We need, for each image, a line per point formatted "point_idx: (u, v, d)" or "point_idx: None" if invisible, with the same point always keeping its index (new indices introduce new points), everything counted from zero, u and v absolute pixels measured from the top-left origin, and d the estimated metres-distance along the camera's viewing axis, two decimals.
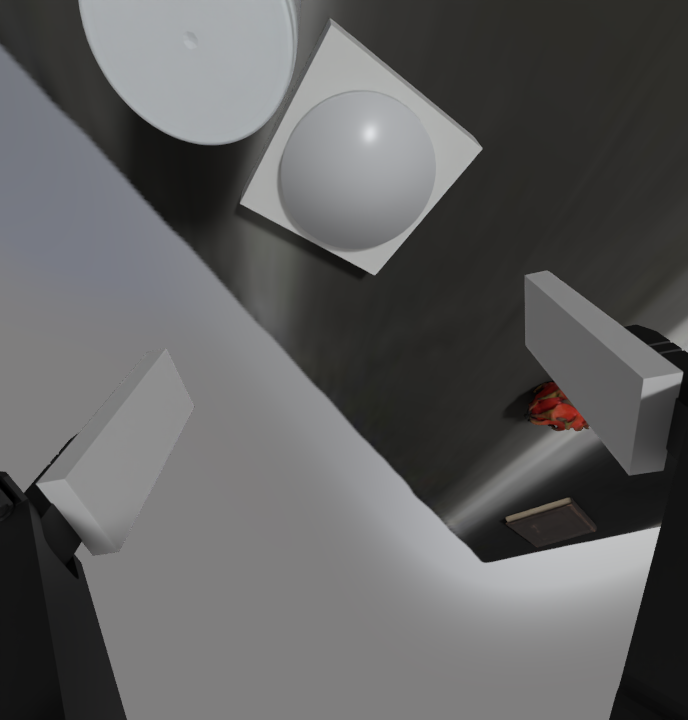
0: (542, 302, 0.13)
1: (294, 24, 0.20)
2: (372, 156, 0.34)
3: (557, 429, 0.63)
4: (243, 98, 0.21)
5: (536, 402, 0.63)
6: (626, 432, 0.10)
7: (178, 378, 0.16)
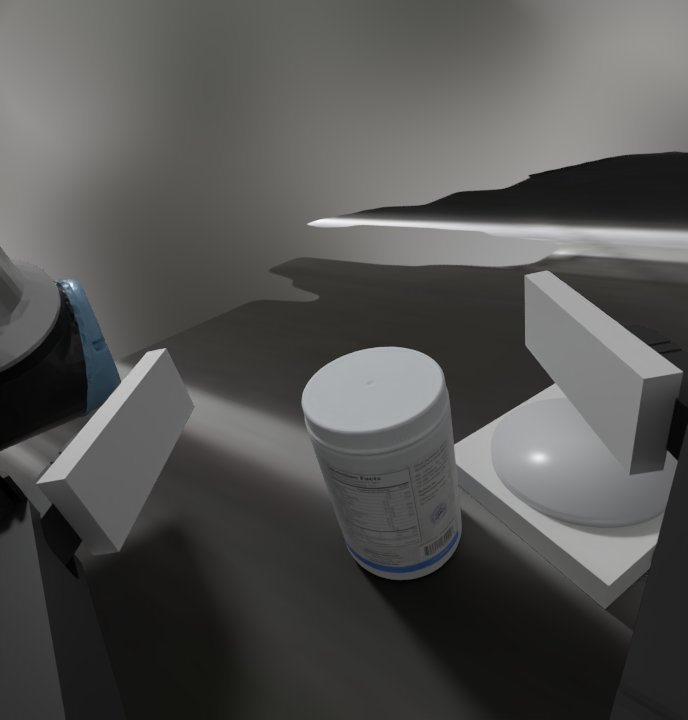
0: (542, 302, 0.13)
1: None
2: (550, 435, 0.35)
3: None
4: (416, 369, 0.27)
5: None
6: (626, 432, 0.10)
7: (178, 378, 0.16)
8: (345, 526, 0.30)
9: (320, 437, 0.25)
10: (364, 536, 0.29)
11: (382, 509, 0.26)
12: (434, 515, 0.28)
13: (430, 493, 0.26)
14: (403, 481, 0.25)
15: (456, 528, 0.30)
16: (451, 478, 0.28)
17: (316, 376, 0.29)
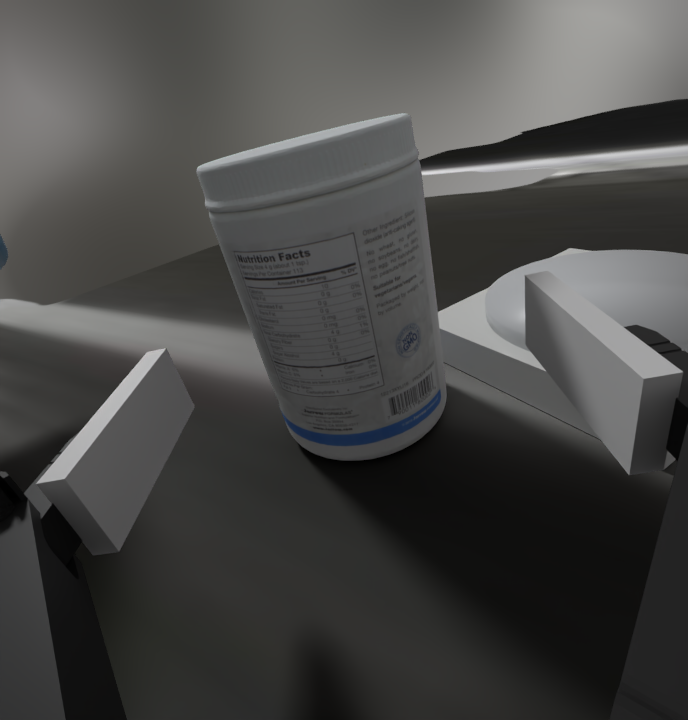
0: (542, 302, 0.13)
1: None
2: None
3: None
4: (370, 121, 0.18)
5: None
6: (626, 432, 0.10)
7: (178, 378, 0.16)
8: (276, 379, 0.20)
9: (216, 195, 0.16)
10: (300, 383, 0.19)
11: (319, 320, 0.17)
12: (402, 342, 0.18)
13: (392, 297, 0.17)
14: (347, 261, 0.16)
15: (437, 384, 0.21)
16: (426, 291, 0.19)
17: None
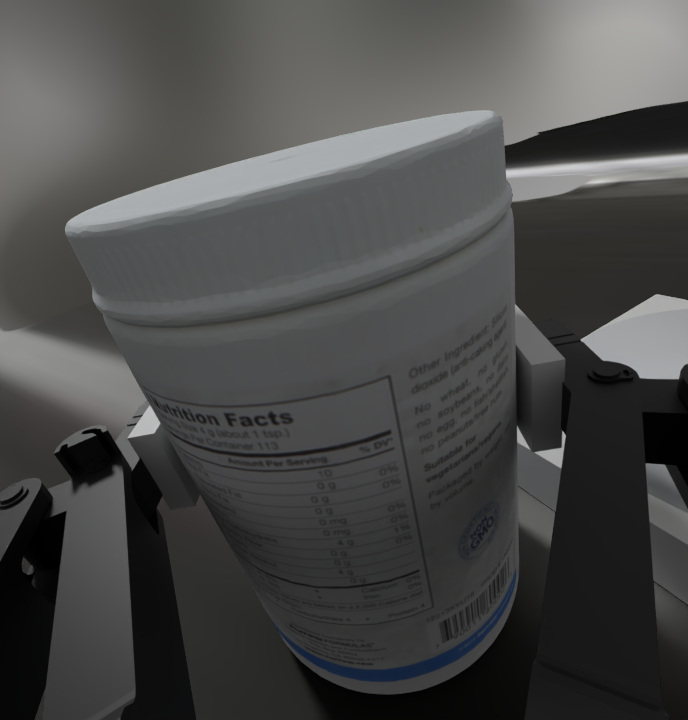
0: None
1: None
2: None
3: None
4: (411, 125, 0.10)
5: None
6: (527, 413, 0.11)
7: None
8: (241, 566, 0.12)
9: (95, 284, 0.08)
10: (280, 596, 0.11)
11: (313, 525, 0.09)
12: (469, 539, 0.10)
13: (458, 474, 0.09)
14: (374, 429, 0.07)
15: (514, 565, 0.13)
16: (511, 435, 0.10)
17: (159, 185, 0.11)
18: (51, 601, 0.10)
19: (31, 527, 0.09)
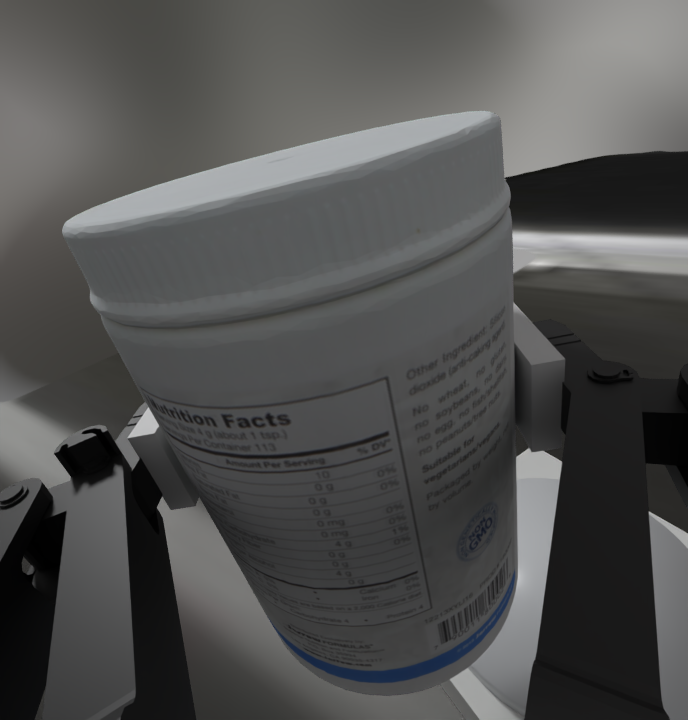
0: None
1: None
2: None
3: None
4: (409, 126, 0.10)
5: None
6: (527, 414, 0.11)
7: None
8: (240, 567, 0.12)
9: (92, 285, 0.08)
10: (279, 597, 0.11)
11: (312, 526, 0.09)
12: (467, 540, 0.10)
13: (456, 476, 0.09)
14: (372, 430, 0.07)
15: (513, 566, 0.13)
16: (510, 437, 0.10)
17: (158, 185, 0.11)
18: (51, 601, 0.10)
19: (31, 527, 0.09)
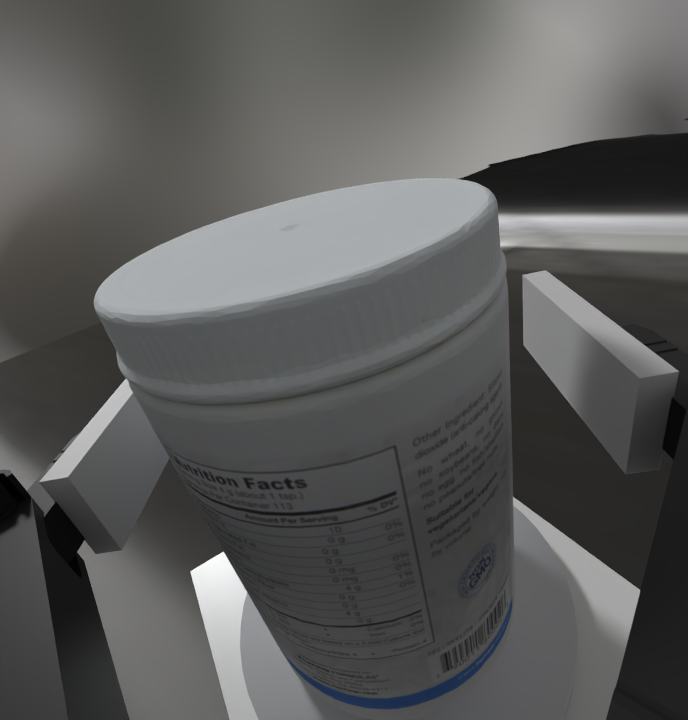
0: (540, 301, 0.13)
1: None
2: None
3: None
4: (412, 193, 0.10)
5: None
6: (623, 431, 0.10)
7: None
8: (252, 600, 0.13)
9: (123, 357, 0.08)
10: (290, 631, 0.11)
11: (324, 573, 0.09)
12: (467, 579, 0.10)
13: (457, 524, 0.09)
14: (381, 491, 0.08)
15: (510, 595, 0.13)
16: (507, 480, 0.11)
17: (174, 240, 0.12)
18: None
19: None
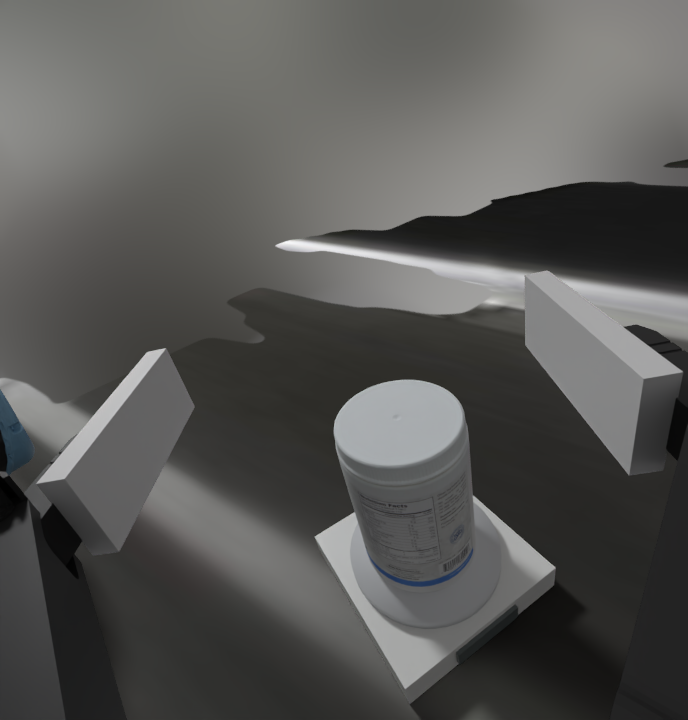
0: (542, 302, 0.13)
1: None
2: None
3: None
4: (438, 404, 0.30)
5: None
6: (626, 432, 0.10)
7: (178, 378, 0.16)
8: (370, 544, 0.33)
9: (352, 467, 0.28)
10: (388, 554, 0.31)
11: (407, 532, 0.29)
12: (453, 536, 0.30)
13: (450, 518, 0.29)
14: (427, 508, 0.28)
15: (471, 546, 0.33)
16: (468, 502, 0.31)
17: (346, 408, 0.32)
18: None
19: None
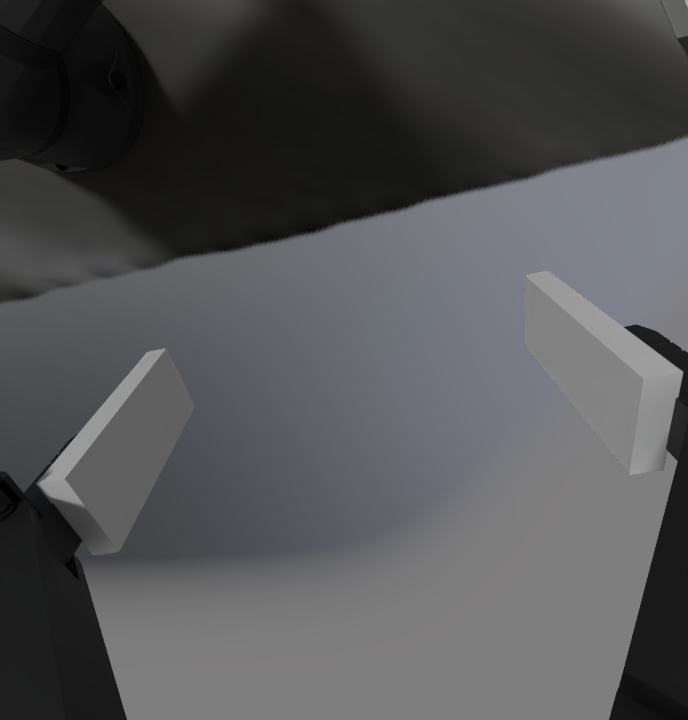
0: (542, 302, 0.13)
1: None
2: None
3: None
4: None
5: None
6: (626, 432, 0.10)
7: (178, 378, 0.16)
8: None
9: None
10: None
11: None
12: None
13: None
14: None
15: None
16: None
17: None
18: None
19: None
